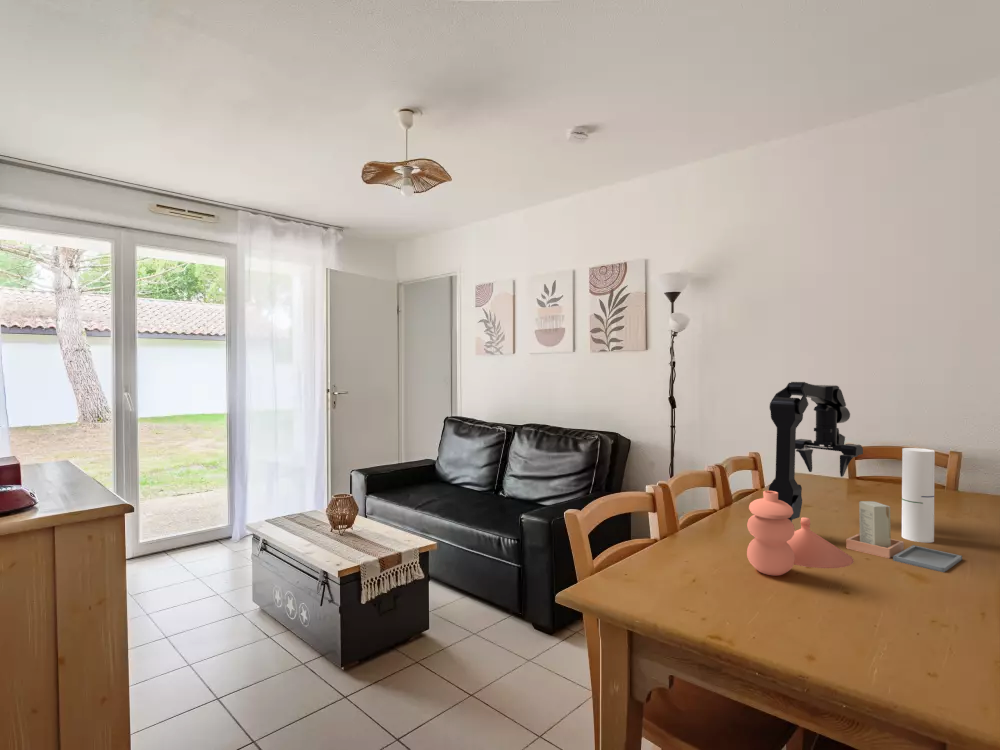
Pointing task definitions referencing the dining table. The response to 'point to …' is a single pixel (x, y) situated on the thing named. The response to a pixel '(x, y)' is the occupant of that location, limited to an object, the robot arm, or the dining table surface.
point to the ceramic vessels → (786, 540)
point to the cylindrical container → (918, 494)
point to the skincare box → (875, 523)
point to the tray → (927, 558)
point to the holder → (874, 547)
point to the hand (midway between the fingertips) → (825, 474)
